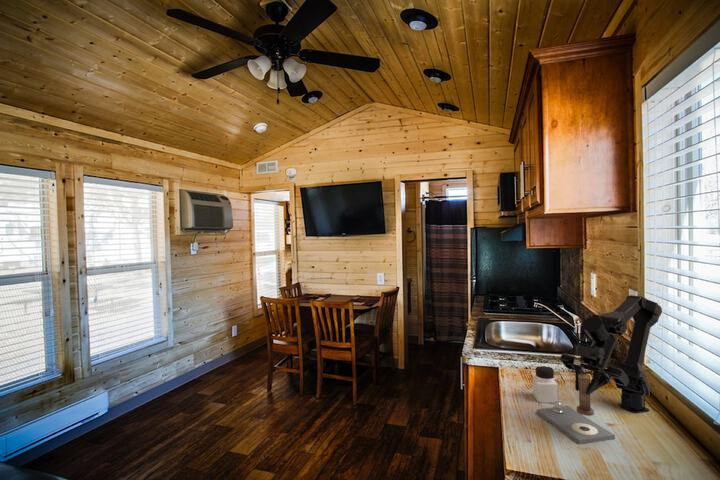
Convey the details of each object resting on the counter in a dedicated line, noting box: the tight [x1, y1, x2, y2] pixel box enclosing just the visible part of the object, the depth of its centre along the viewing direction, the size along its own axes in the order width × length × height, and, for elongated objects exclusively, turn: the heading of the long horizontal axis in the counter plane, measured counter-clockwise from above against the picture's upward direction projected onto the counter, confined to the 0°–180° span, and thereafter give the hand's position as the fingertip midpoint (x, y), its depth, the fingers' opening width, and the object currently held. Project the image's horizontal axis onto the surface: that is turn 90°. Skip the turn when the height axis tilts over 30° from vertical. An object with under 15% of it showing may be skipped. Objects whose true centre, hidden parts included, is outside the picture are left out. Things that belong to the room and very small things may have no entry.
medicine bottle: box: [532, 365, 559, 404], centre depth 141 cm, size 7×7×12 cm
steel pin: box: [552, 400, 563, 414], centre depth 129 cm, size 3×3×3 cm
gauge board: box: [536, 405, 616, 445], centre depth 122 cm, size 12×20×1 cm, turn 10°
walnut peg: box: [576, 373, 595, 417], centre depth 116 cm, size 5×5×12 cm
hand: (581, 392), depth 116 cm, fingers closed on walnut peg, 3 cm apart
